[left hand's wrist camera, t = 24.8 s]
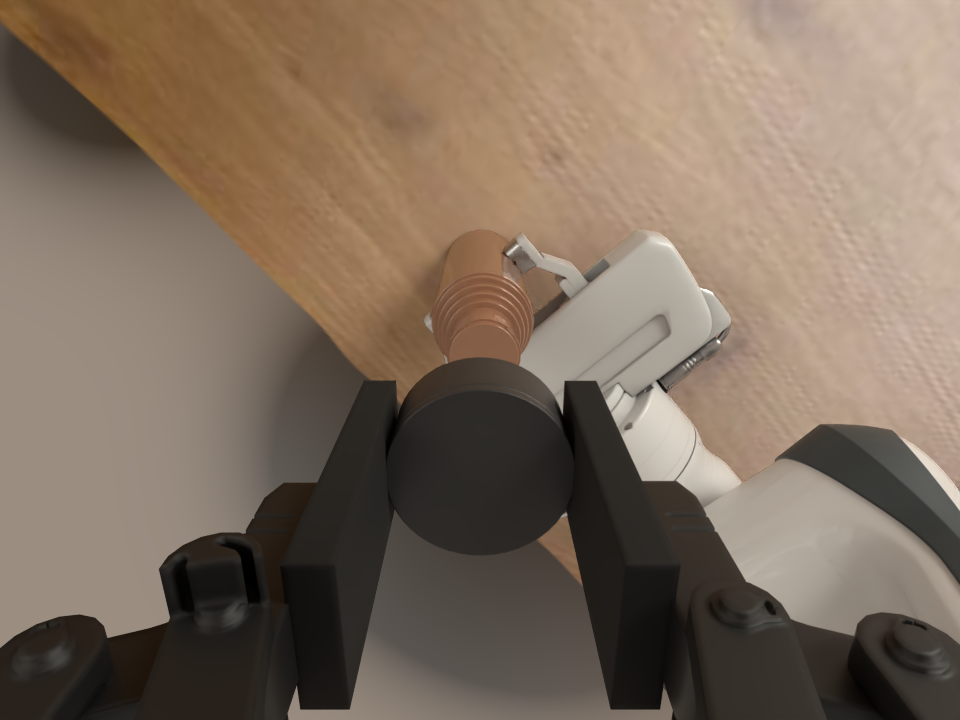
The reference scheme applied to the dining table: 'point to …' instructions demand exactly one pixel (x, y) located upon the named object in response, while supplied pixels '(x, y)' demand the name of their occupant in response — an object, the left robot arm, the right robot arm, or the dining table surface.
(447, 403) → the cap
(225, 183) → the dining table surface
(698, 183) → the dining table surface
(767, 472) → the right robot arm
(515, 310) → the bottle
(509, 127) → the dining table surface
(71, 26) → the dining table surface
